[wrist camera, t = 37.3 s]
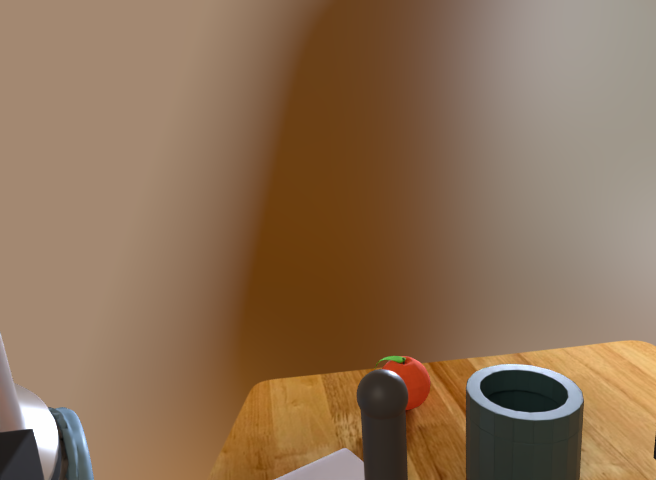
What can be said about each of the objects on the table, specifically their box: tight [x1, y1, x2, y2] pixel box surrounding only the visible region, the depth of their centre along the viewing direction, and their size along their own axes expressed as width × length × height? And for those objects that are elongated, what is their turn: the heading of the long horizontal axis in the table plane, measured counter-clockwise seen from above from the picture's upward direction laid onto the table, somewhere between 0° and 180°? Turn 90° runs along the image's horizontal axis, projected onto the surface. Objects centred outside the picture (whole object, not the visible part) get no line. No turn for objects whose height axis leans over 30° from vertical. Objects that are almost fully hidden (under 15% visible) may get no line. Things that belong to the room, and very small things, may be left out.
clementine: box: [376, 356, 430, 410], centre depth 75 cm, size 8×7×7 cm
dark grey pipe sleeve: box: [466, 364, 584, 480], centre depth 58 cm, size 11×11×11 cm
